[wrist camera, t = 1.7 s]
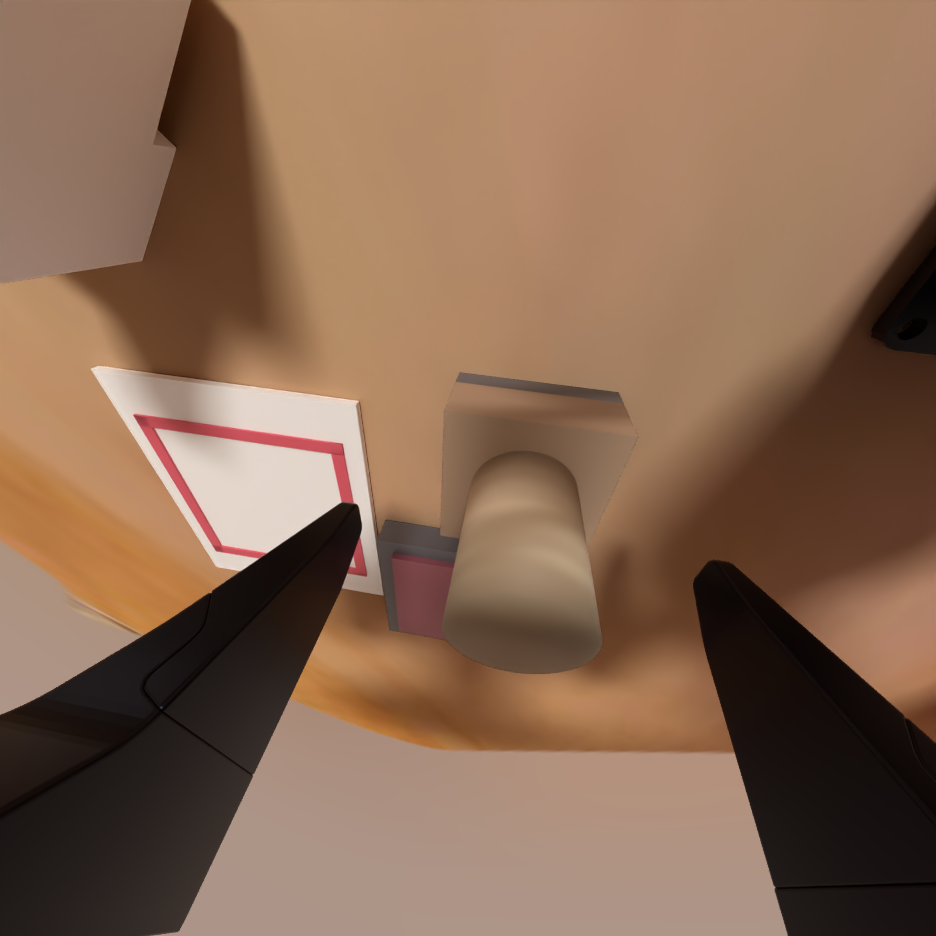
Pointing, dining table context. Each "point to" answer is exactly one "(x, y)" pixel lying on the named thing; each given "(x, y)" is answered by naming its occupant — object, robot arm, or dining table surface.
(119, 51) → the bracket
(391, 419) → the dining table surface
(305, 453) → the paper card
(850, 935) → the robot arm
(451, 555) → the ink pad
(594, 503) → the stamp
